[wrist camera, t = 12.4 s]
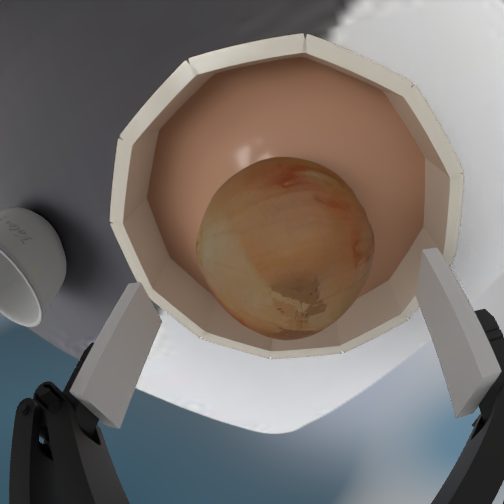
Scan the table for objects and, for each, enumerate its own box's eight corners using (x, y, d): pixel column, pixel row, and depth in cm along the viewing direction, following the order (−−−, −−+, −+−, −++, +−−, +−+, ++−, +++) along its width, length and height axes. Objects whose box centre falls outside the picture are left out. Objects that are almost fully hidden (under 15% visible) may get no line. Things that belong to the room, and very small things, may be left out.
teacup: (62, 191, 24) (5, 237, 17) (93, 286, 30) (56, 340, 23) (-14, 200, 25) (-59, 235, 19) (15, 275, 31) (-19, 315, 24)
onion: (197, 160, 20) (130, 235, 12) (346, 127, 18) (395, 182, 9) (239, 274, 25) (213, 380, 17) (364, 254, 22) (393, 361, 14)
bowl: (109, 96, 19) (67, 108, 15) (419, 38, 14) (454, 32, 10) (194, 321, 30) (180, 360, 26) (420, 298, 25) (436, 338, 21)
